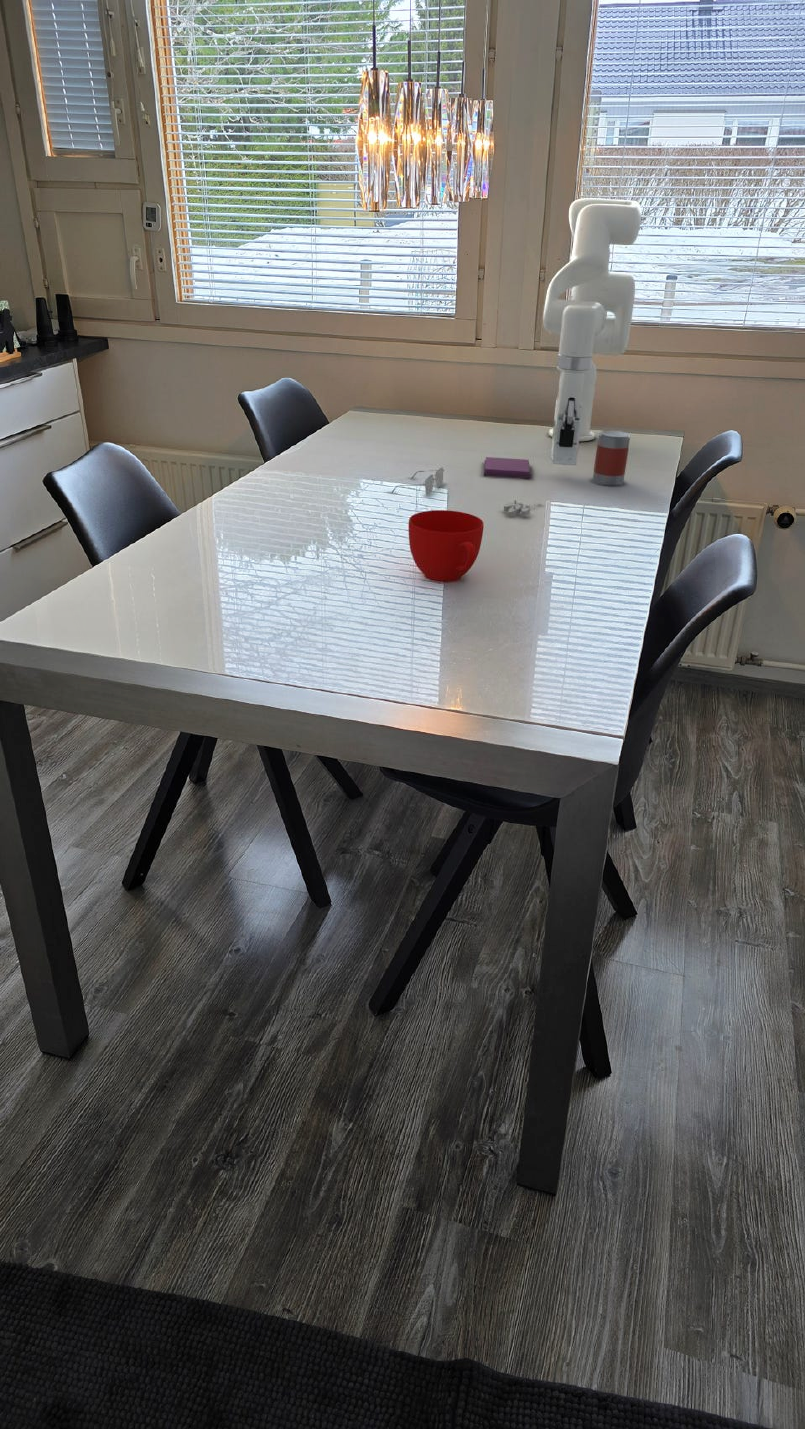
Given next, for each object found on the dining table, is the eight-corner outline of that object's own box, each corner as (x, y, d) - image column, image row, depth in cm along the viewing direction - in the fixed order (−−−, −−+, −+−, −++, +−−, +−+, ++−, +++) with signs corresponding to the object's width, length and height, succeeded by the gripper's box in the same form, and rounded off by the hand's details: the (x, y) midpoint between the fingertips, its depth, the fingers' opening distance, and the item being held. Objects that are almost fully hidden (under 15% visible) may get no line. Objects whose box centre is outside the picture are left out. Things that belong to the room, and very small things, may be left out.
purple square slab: (484, 463, 248) (485, 456, 247) (528, 466, 248) (529, 459, 247) (483, 476, 238) (484, 469, 237) (529, 479, 237) (530, 472, 236)
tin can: (591, 476, 241) (597, 429, 236) (621, 478, 241) (628, 431, 235) (593, 485, 235) (600, 436, 229) (625, 487, 234) (632, 438, 229)
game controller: (499, 515, 210) (500, 503, 209) (514, 502, 220) (515, 490, 218) (525, 519, 208) (526, 507, 207) (539, 506, 218) (540, 494, 217)
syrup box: (576, 465, 236) (584, 402, 229) (551, 464, 236) (558, 401, 229) (573, 459, 241) (581, 397, 234) (549, 458, 241) (555, 396, 234)
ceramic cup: (434, 601, 166) (438, 543, 161) (394, 567, 180) (396, 513, 175) (503, 592, 171) (508, 536, 166) (459, 560, 184) (463, 507, 180)
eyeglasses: (425, 498, 219) (424, 479, 218) (391, 496, 222) (390, 478, 220) (444, 482, 231) (444, 465, 229) (412, 481, 234) (411, 463, 232)
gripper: (555, 357, 236) (547, 434, 244) (559, 369, 220) (550, 451, 229) (588, 358, 235) (578, 436, 244) (593, 371, 220) (583, 453, 229)
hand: (564, 442), depth 236 cm, fingers closed on syrup box, 6 cm apart
